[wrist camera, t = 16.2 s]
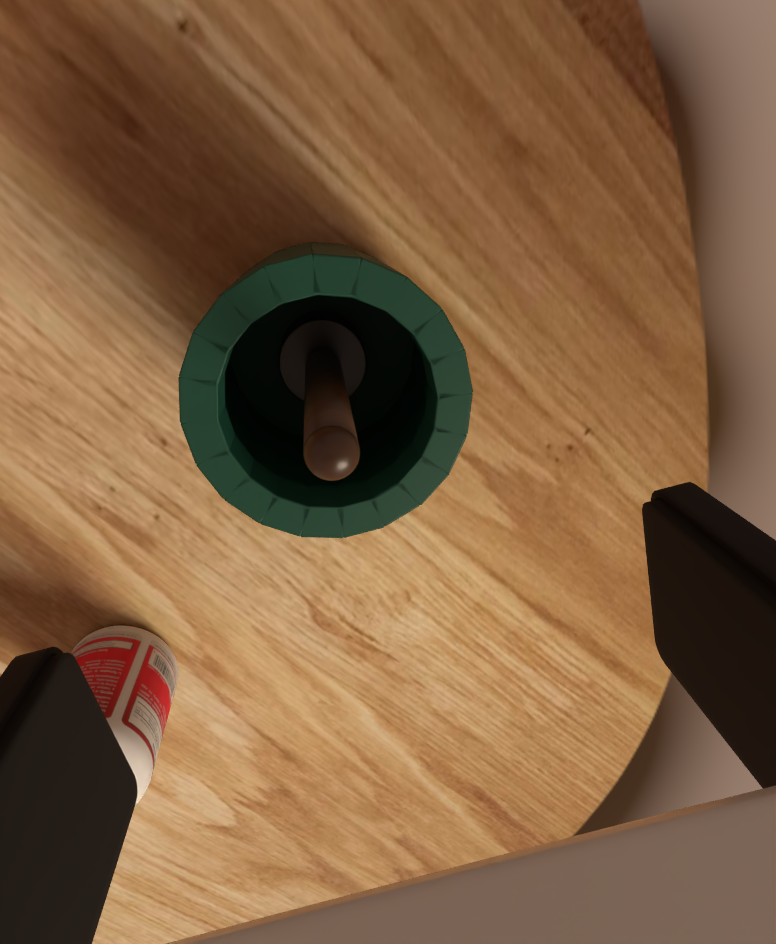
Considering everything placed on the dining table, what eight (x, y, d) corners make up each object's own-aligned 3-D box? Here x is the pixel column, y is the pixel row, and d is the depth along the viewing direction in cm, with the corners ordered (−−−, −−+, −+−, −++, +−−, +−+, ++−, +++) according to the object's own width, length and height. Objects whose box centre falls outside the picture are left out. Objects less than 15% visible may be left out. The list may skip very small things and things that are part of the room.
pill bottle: (51, 679, 38) (-43, 848, 28) (103, 603, 37) (24, 751, 27) (147, 723, 40) (92, 896, 30) (200, 652, 39) (162, 808, 29)
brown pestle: (350, 301, 32) (386, 373, 17) (370, 379, 34) (419, 508, 19) (270, 322, 32) (238, 412, 17) (293, 399, 33) (282, 544, 19)
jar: (397, 219, 32) (440, 220, 21) (440, 417, 35) (493, 499, 25) (190, 272, 31) (133, 298, 21) (255, 466, 35) (233, 567, 25)
